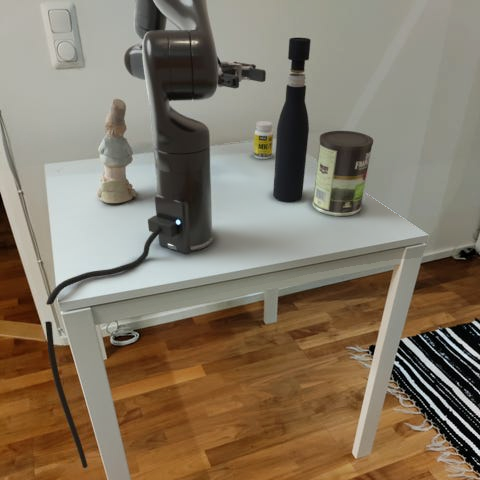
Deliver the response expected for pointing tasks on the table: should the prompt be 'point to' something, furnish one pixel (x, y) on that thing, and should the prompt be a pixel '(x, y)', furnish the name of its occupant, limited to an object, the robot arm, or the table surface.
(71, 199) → the table surface
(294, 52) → the dark blue water bottle
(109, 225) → the table surface
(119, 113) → the figurine
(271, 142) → the supplement bottle
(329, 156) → the coffee can
